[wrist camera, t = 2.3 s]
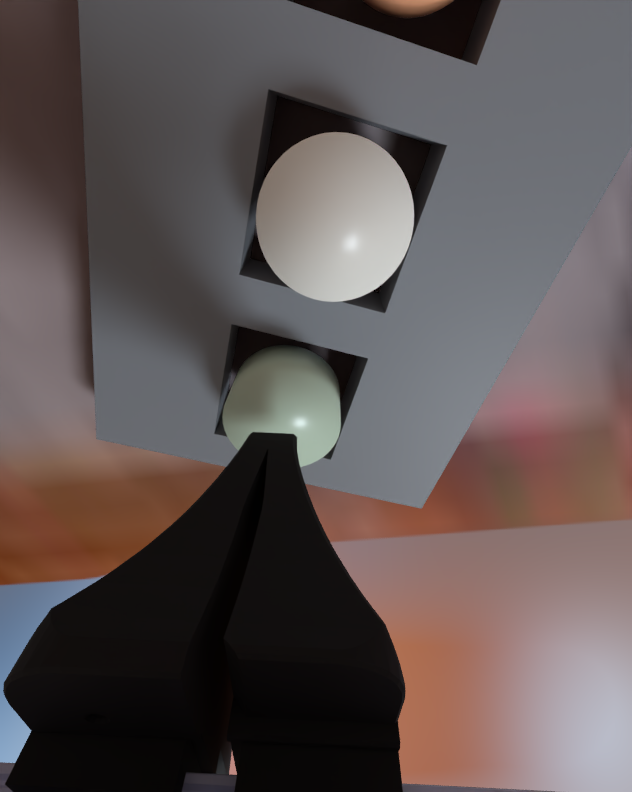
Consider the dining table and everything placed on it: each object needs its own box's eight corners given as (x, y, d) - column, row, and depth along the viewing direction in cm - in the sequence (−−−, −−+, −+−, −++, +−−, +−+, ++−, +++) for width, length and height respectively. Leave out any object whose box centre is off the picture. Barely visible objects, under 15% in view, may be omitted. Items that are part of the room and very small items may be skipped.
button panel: (788, -227, 9) (899, -316, 7) (413, 476, 20) (421, 508, 18) (113, -540, 7) (45, -752, 5) (118, 411, 18) (96, 438, 16)
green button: (353, 360, 15) (356, 389, 13) (324, 443, 17) (323, 478, 15) (243, 332, 14) (231, 359, 12) (227, 422, 16) (215, 455, 15)
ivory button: (423, 157, 11) (440, 160, 10) (376, 294, 13) (382, 317, 12) (282, 113, 11) (272, 108, 9) (255, 262, 13) (244, 280, 11)
